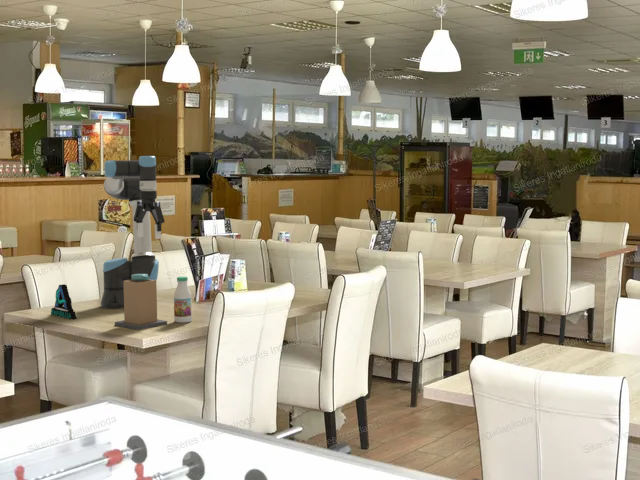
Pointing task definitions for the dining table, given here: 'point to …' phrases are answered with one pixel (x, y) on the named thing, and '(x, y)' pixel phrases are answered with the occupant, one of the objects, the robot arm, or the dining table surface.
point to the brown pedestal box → (140, 305)
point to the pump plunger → (140, 277)
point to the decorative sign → (61, 300)
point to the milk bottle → (182, 302)
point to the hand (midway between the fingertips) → (149, 238)
